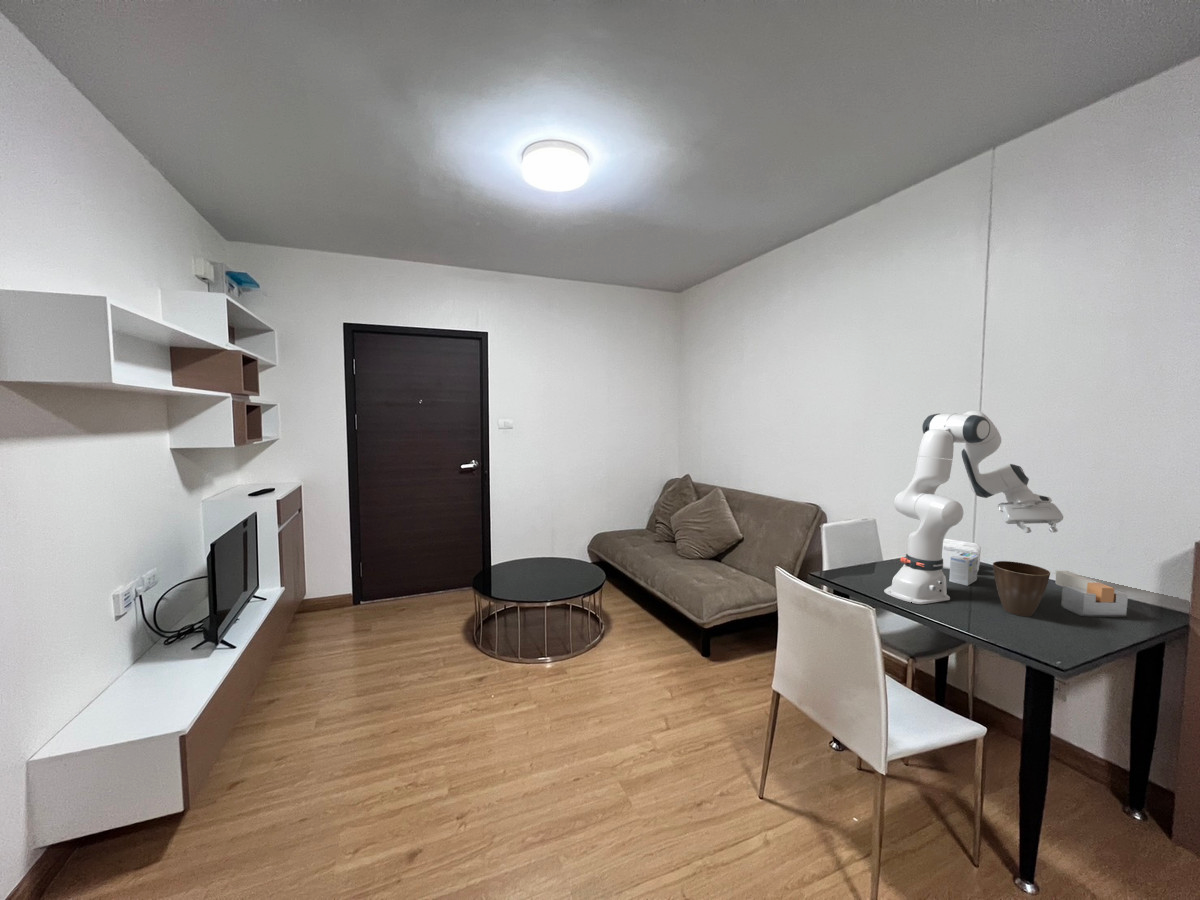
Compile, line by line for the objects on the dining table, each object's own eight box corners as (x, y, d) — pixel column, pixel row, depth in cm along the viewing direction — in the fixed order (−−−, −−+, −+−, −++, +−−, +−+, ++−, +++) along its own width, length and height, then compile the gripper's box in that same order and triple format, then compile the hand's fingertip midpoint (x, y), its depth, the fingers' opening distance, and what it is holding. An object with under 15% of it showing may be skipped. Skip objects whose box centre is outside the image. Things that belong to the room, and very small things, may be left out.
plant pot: (988, 600, 175) (990, 558, 173) (1042, 609, 166) (1045, 565, 165) (992, 614, 162) (995, 569, 161) (1051, 625, 154) (1055, 578, 153)
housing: (1061, 606, 168) (1062, 585, 168) (1102, 607, 168) (1104, 585, 167) (1082, 616, 160) (1084, 593, 160) (1126, 617, 160) (1128, 594, 159)
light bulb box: (958, 575, 200) (959, 551, 199) (977, 580, 195) (979, 555, 194) (948, 581, 194) (949, 556, 193) (968, 586, 188) (969, 560, 187)
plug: (1055, 583, 176) (1056, 570, 176) (1066, 583, 176) (1067, 570, 175) (1100, 602, 159) (1102, 588, 159) (1113, 602, 159) (1114, 588, 158)
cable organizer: (981, 570, 207) (983, 544, 206) (977, 575, 200) (979, 549, 199) (940, 562, 218) (942, 537, 217) (935, 567, 211) (936, 542, 210)
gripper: (1000, 498, 192) (1017, 528, 183) (1054, 497, 190) (1075, 527, 181) (991, 506, 197) (1008, 536, 188) (1044, 505, 195) (1064, 535, 186)
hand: (1041, 532), depth 185 cm, fingers open, 8 cm apart
